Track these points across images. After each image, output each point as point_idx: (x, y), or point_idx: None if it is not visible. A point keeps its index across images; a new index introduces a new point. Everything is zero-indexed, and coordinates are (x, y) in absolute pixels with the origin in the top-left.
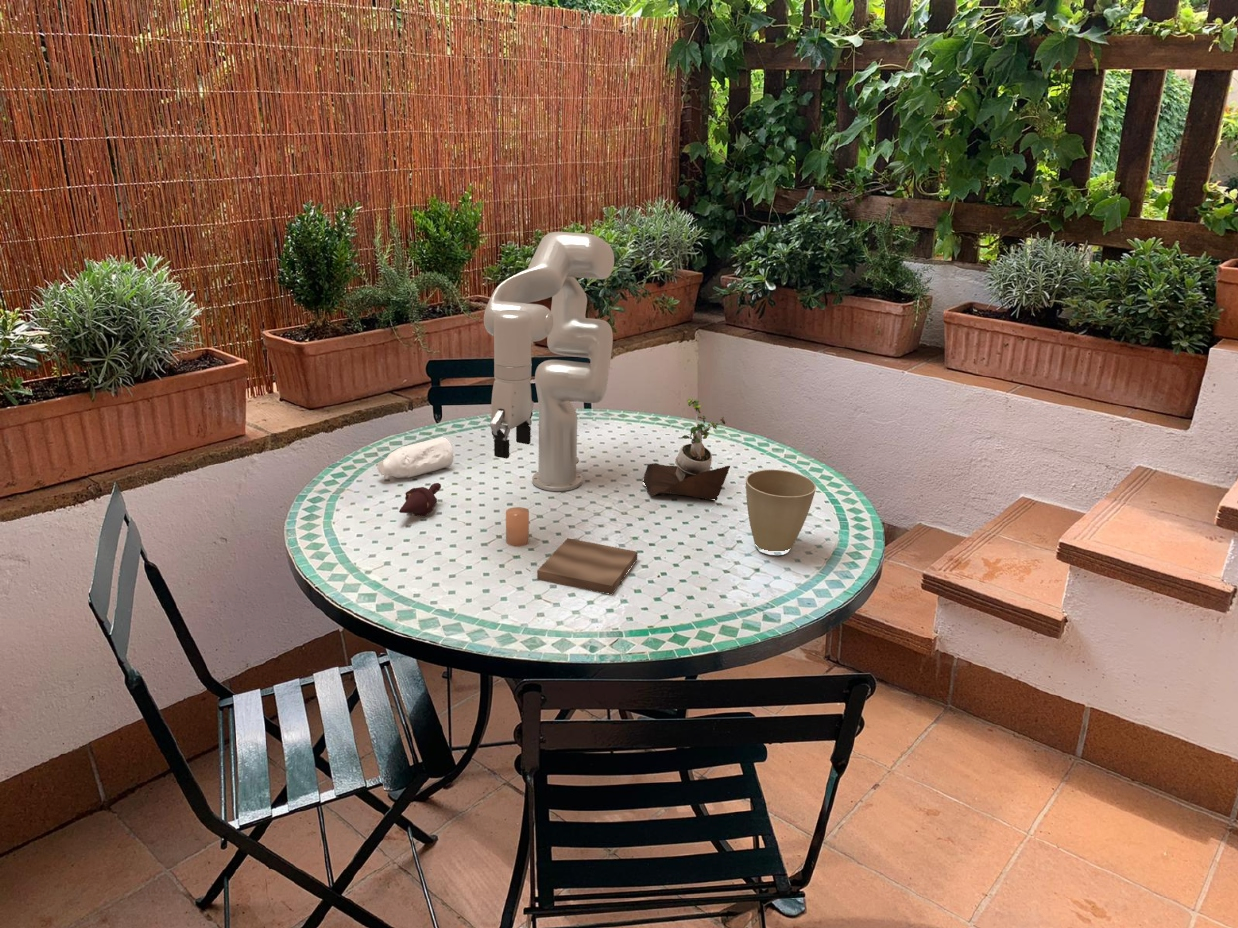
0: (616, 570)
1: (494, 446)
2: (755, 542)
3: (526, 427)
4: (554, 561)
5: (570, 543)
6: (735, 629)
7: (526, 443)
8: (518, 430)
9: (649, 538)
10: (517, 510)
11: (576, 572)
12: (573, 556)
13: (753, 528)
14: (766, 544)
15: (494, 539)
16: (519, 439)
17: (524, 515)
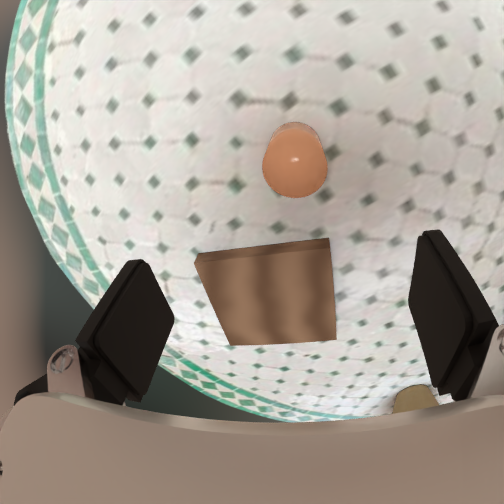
0: (269, 338)
1: (103, 297)
2: (404, 395)
3: (439, 381)
4: (236, 269)
5: (311, 261)
6: (252, 404)
7: (411, 293)
8: (446, 310)
9: (406, 316)
10: (303, 163)
11: (229, 306)
12: (270, 285)
13: (402, 411)
14: (394, 406)
15: (271, 101)
16: (423, 267)
17: (287, 195)
